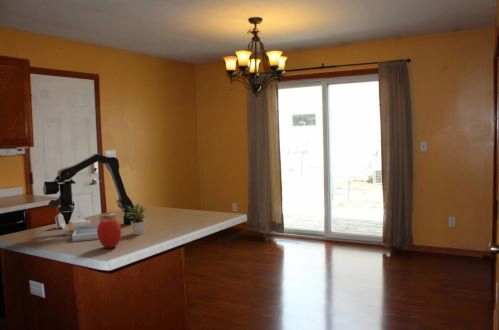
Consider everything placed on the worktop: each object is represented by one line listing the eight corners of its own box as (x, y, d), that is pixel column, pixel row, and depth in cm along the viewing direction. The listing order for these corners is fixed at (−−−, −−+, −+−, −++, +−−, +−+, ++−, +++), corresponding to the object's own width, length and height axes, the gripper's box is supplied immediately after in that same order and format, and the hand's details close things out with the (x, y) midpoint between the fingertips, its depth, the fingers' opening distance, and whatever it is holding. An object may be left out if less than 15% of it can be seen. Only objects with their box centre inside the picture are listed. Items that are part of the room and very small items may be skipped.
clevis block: (116, 227, 227) (115, 212, 227) (116, 230, 219) (115, 214, 219) (66, 232, 219) (65, 216, 219) (65, 235, 211) (63, 219, 211)
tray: (110, 232, 215) (110, 227, 215) (110, 237, 204) (110, 231, 204) (74, 236, 209) (74, 230, 209) (72, 241, 199) (72, 235, 198)
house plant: (121, 231, 216) (119, 201, 215) (148, 228, 221) (146, 198, 220) (124, 237, 203) (122, 204, 202) (153, 234, 208) (151, 202, 207)
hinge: (62, 229, 227) (57, 212, 228) (57, 231, 230) (52, 214, 231) (87, 223, 242) (82, 207, 243) (82, 225, 244) (77, 209, 245)
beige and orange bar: (90, 227, 221) (89, 220, 220) (89, 228, 217) (89, 221, 217) (65, 229, 217) (65, 222, 217) (65, 231, 213) (64, 223, 213)
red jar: (93, 249, 183) (91, 218, 182) (108, 243, 192) (106, 214, 191) (112, 251, 179) (110, 219, 178) (127, 245, 188) (125, 215, 187)
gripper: (51, 192, 220) (53, 220, 221) (46, 196, 203) (48, 227, 204) (73, 190, 224) (75, 218, 225) (70, 194, 206) (72, 225, 207)
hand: (67, 222), depth 215 cm, fingers open, 9 cm apart
